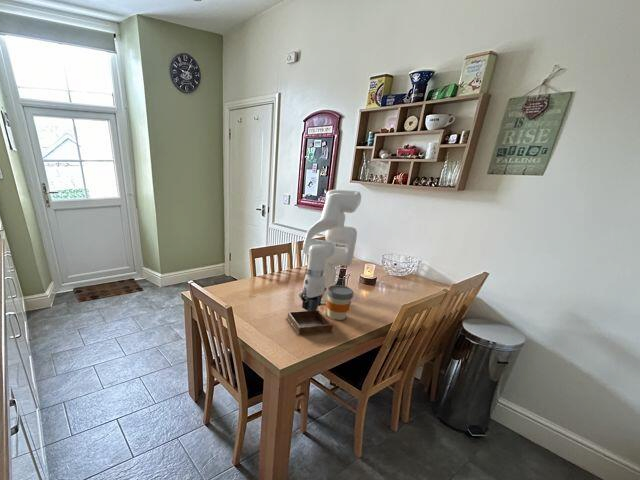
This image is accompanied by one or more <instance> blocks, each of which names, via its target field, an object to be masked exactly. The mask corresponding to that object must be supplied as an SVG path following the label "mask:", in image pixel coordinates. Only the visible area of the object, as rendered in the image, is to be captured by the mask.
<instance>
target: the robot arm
mask: <svg viewBox="0 0 640 480" xmlns="http://www.w3.org/2000/svg"><path fill="white" fill-rule="evenodd" d="M361 202H362V194H361V192H360V191H358V190H347V189H346V190H345V189H329V190H327V192H326V194H325V203H324V206H323V209H322V213H321V216H320V219H319V220H318V221H316V222H315V223H314V224H313V225H311V226H310V227H309V228H308V230H307V232H306V234H305V236H304V240H303V243H302V252H303V254H304V255H305V256H308V257H307V259H308V260H307V266H306V267H307V268H306V272H305V276H304V280H303V284H302V290H301V292H300V293H299V294H298V297H299V299H300V300H301V301H302V305H301V308H302V309H304V311H307V309H308V302H307V301H308V299H309V298H312V297H316V296H318V297H319V298H320V303H319V305H318V307H320V306H321V305H327V297H328V295H327V291H328V288H329V287H330V286H333V285H336V279H337V269H336V267H335V265H336V266H341V267H349V266H351V264H352V262H353V258H354V253H355V248H356V244H357V237H358V231H357V228H355V227H352V226H345V223H346V222H345V221H346V214H347V213H348V214H353V213H355V212H356V210H357V209H358V208H359V206H360V205H361ZM345 213H346V214H345ZM322 232H325V236H324V238H325V240H321V239H314V237H315V236H316V235H317V234H320V233H322ZM335 245H340V246H335ZM341 245H342V246H345V247H342V246H341ZM305 297H307V298H306V299H305Z"/></svg>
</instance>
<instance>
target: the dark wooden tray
mask: <svg viewBox="0 0 640 480" xmlns="http://www.w3.org/2000/svg"><path fill="white" fill-rule="evenodd" d="M287 320H288V321H289V323H290V324H291V325H292V327H293V328H294V330H295V331H296V332H297V334H298V335H308V334H321V333H329V332H330V333H331V332H332V331H333V324H332V323H331V322H330V320H329V319H328V318H327V317H326V316H325V315H324V314H323V313H322V311H320V310H319V309H317V310H316V311H313V312H311V311H307V310H296V311H295V310H294V311H287Z"/></svg>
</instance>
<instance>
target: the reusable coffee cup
mask: <svg viewBox="0 0 640 480" xmlns="http://www.w3.org/2000/svg"><path fill="white" fill-rule="evenodd" d="M327 295H328V297H327V304H326V308H327V310H326V311H327V316H328V318H330V319H333V320H337V321H341V320H345V319H346V317H347V313H348V312H349V310H350V307H351V304H352V299H353V297H354V290H353V289H352V288H351V287H350V286H347V285H341V284H340V285H339V284H335V285H333V286H330V287H329V288H328V291H327Z"/></svg>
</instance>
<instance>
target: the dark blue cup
mask: <svg viewBox="0 0 640 480" xmlns="http://www.w3.org/2000/svg"><path fill="white" fill-rule="evenodd" d="M306 298H307V297H305V299H306ZM307 302H308V309H307V310H306V311H311V312H313V311H316V310H319V309H318V308H319V306H318V305H319V303H320V298H319V297H318V296H316V297H312V298H309V299H308V301H307Z"/></svg>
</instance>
